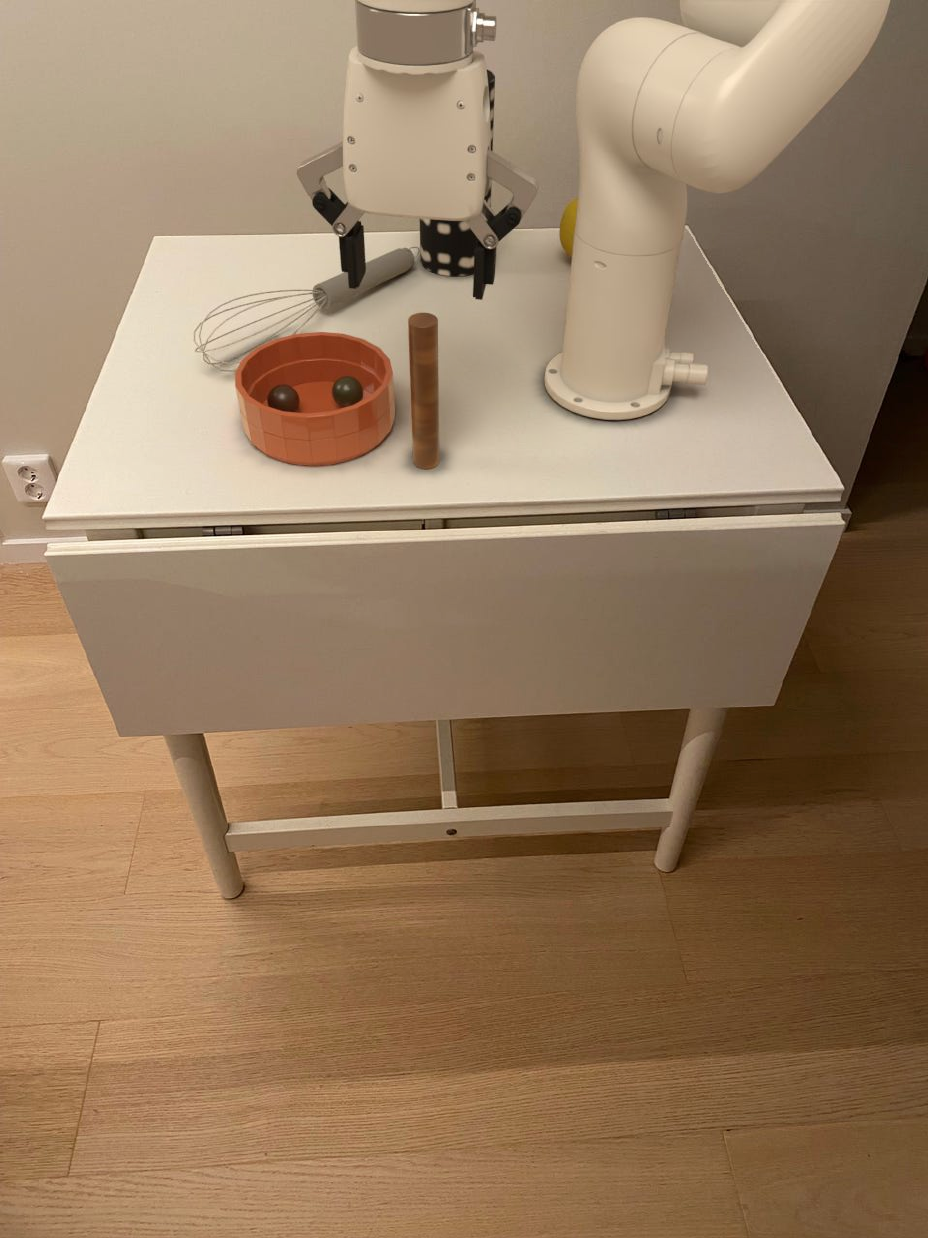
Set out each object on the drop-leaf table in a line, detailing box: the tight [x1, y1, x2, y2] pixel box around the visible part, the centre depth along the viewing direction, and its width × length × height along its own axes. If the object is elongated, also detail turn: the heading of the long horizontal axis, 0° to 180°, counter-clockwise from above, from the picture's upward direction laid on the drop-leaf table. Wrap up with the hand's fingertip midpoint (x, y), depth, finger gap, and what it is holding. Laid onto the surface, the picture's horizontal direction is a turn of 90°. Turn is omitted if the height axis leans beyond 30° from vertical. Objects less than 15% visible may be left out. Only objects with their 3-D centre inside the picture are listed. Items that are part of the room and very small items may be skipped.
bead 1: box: [267, 384, 300, 412], centre depth 87 cm, size 3×3×3 cm
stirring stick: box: [407, 312, 440, 470], centre depth 79 cm, size 2×2×14 cm
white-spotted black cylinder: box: [419, 69, 496, 277], centre depth 104 cm, size 8×8×20 cm
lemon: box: [558, 197, 578, 258], centre depth 109 cm, size 6×6×8 cm
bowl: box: [234, 331, 396, 467], centre depth 86 cm, size 14×14×6 cm
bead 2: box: [332, 376, 363, 408], centre depth 88 cm, size 3×3×3 cm
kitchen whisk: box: [193, 246, 420, 373], centre depth 100 cm, size 6×34×6 cm, turn 143°
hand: (418, 285), depth 71 cm, fingers open, 9 cm apart
